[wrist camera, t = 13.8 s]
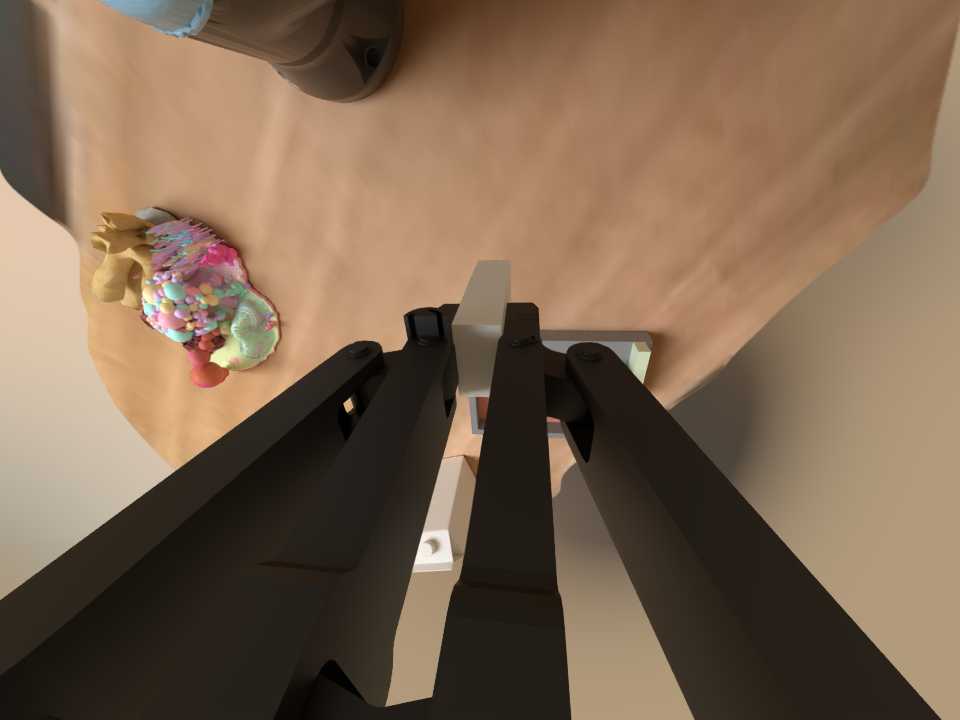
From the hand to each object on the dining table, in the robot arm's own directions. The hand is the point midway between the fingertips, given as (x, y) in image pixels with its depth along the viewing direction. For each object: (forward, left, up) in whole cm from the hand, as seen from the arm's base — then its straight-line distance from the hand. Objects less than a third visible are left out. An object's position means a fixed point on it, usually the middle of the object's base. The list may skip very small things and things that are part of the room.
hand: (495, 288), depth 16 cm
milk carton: (-12, -48, -29) cm, 57 cm away
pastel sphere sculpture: (-48, -12, -29) cm, 57 cm away
